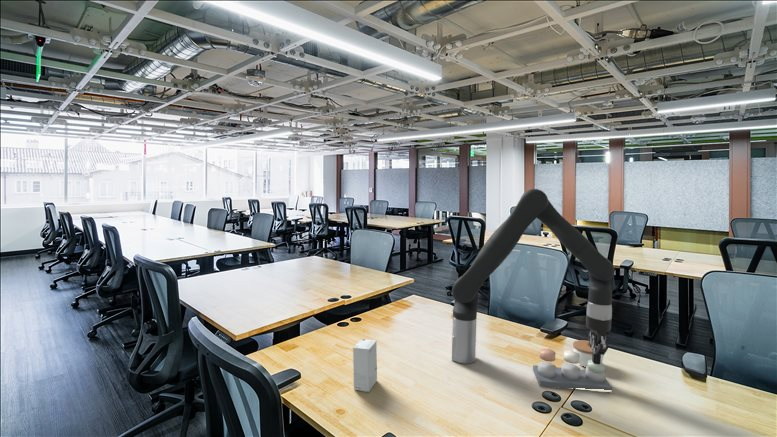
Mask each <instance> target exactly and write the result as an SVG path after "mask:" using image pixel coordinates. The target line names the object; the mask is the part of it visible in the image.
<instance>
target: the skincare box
mask: <svg viewBox="0 0 777 437" xmlns="http://www.w3.org/2000/svg"><path fill="white" fill-rule="evenodd" d="M377 347H378V346H377V340H375V339H373V340H372V339H367V338H366V339H363V338H362V339H361V340H360V341H358V342H357V343H356V345H355V346H354V347H352V351H353V354H352V355H353V359H352V360H353V361H352V363H353V389H354V390H356V391H361V392H365V393H370V391H371V389H372V388H373V386H374V385H375V384H376V383H377V382H378V361H377V360H378V357H377V353H378V352H377V349H378V348H377Z"/></svg>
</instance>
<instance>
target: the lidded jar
mask: <svg viewBox="0 0 777 437" xmlns="http://www.w3.org/2000/svg"><path fill="white" fill-rule="evenodd" d="M591 349H592V348H590V344H589V340H584V339H581V340H580V339H579V340H574V341H573V343H572V351H574V352H577V353H579V354H580V360H579V363H578V365H579V364H580V365H581V366H580V365H579V366H580V367H582V366H584V367H587V366H588V360H592V350H591ZM604 356H605V354H604V355H601V361H600V362H602V363H603V361H604ZM584 367H583V368H584Z"/></svg>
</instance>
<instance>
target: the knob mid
mask: <svg viewBox="0 0 777 437" xmlns="http://www.w3.org/2000/svg"><path fill="white" fill-rule="evenodd" d="M563 360H564V361H565V362H566V363H568V364H573V365H577V364H579V360H580V354H579V353H577V352H574V351H573V350H569V349H568V350H564V351H563Z"/></svg>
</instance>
